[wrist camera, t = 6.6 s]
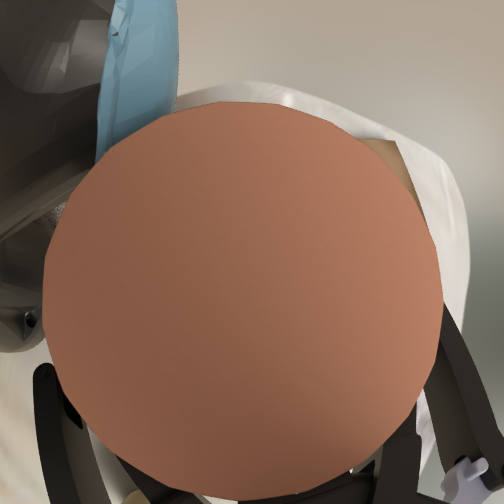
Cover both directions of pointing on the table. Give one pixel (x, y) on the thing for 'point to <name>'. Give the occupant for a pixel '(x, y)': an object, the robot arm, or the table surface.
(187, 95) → the table surface
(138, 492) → the flower pot
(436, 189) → the table surface
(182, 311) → the coffee jar
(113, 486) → the table surface
